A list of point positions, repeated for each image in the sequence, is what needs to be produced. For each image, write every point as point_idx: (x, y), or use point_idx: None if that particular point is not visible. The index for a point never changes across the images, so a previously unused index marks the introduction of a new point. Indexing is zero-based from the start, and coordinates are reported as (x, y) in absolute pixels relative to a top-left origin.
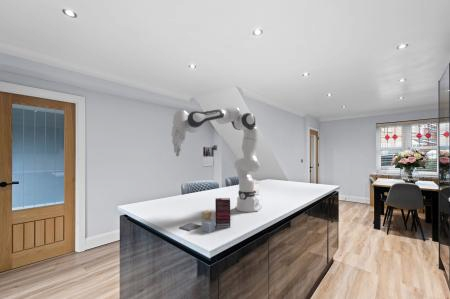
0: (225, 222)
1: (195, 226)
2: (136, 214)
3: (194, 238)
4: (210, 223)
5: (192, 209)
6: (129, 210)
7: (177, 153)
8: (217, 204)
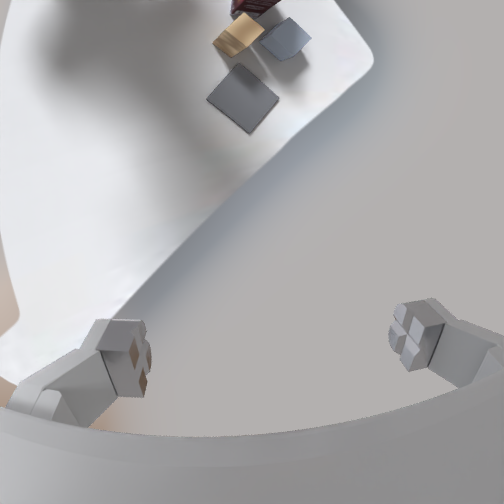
0: None
1: (250, 79)
2: None
3: (327, 86)
4: (306, 34)
5: (15, 132)
6: None
7: (131, 375)
8: None
